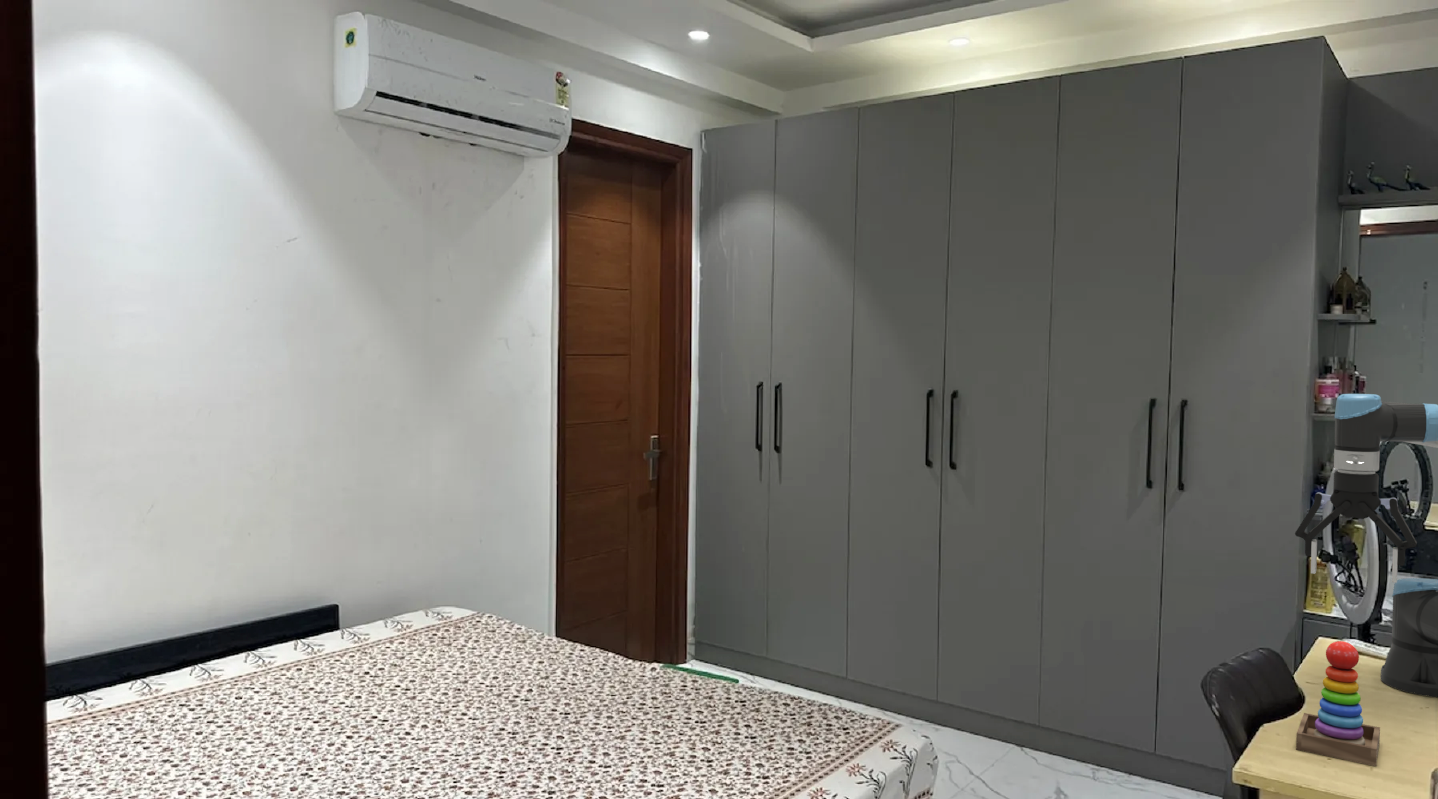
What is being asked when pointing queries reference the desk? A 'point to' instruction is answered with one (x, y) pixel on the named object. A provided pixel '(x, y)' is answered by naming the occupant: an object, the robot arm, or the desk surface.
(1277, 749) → the desk surface
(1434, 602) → the robot arm
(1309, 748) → the walnut open square tray
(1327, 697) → the stacking toy
